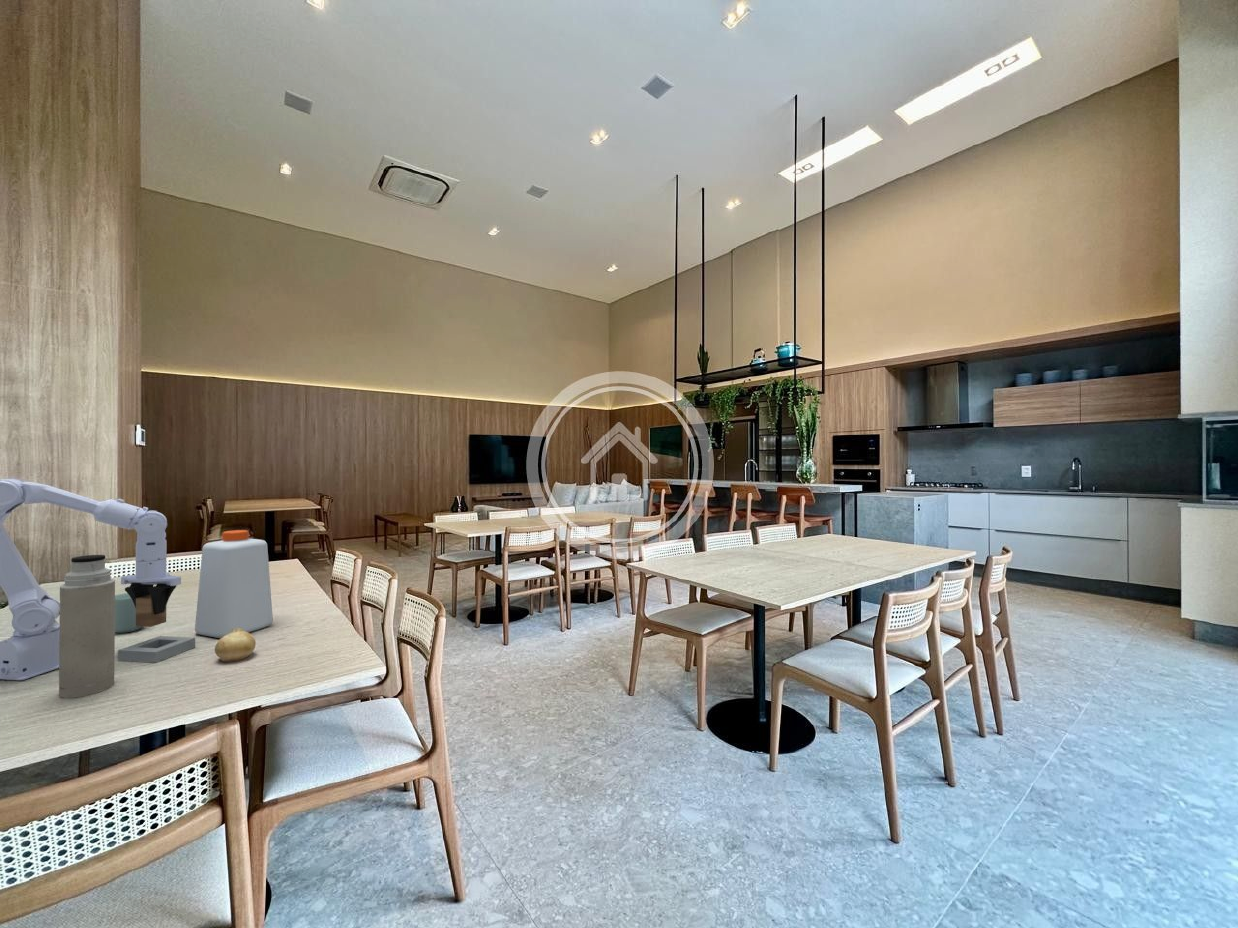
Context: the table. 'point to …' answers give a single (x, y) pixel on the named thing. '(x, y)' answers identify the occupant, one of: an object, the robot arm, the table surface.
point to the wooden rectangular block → (147, 613)
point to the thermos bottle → (86, 628)
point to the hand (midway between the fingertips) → (151, 612)
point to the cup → (125, 614)
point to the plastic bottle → (233, 586)
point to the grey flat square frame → (156, 649)
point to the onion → (235, 645)
